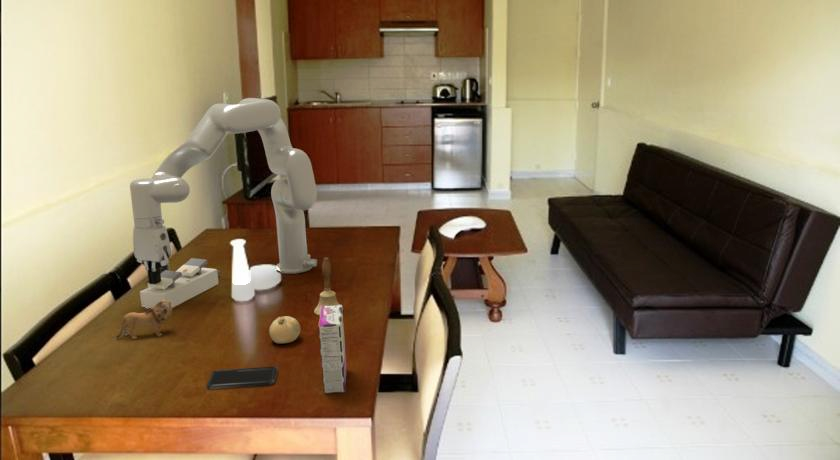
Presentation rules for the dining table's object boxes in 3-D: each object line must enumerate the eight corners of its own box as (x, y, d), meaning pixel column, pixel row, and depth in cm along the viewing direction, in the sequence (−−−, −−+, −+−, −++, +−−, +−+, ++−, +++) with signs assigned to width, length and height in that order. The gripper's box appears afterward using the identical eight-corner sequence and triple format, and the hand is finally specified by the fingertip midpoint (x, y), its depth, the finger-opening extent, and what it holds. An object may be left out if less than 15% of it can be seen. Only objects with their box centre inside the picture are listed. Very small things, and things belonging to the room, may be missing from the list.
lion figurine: (174, 326, 180) (170, 295, 177) (175, 333, 175) (171, 302, 173) (116, 336, 174) (111, 304, 172) (115, 344, 170) (110, 311, 167)
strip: (230, 277, 217) (228, 261, 216) (166, 311, 190) (163, 292, 189) (208, 275, 221) (206, 258, 219) (142, 307, 194) (139, 289, 192)
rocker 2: (208, 264, 209) (206, 259, 208) (192, 278, 202) (190, 272, 201) (193, 262, 211) (191, 257, 210) (177, 276, 204) (175, 270, 204)
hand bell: (326, 303, 193) (322, 252, 189) (348, 308, 189) (345, 256, 185) (308, 313, 186) (304, 260, 182) (331, 318, 182) (327, 264, 178)
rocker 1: (182, 277, 198) (180, 271, 197) (164, 290, 192) (163, 285, 191) (166, 275, 200) (165, 269, 199) (148, 288, 194) (147, 283, 193)
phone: (273, 382, 146) (205, 386, 145) (274, 386, 147) (206, 391, 146) (278, 366, 154) (213, 369, 153) (278, 370, 154) (213, 374, 153)
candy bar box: (325, 370, 153) (320, 305, 148) (347, 369, 153) (343, 303, 149) (322, 394, 142) (317, 325, 138) (345, 393, 142) (341, 323, 138)
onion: (267, 337, 172) (265, 312, 170) (297, 332, 174) (295, 307, 172) (273, 349, 164) (270, 323, 162) (304, 343, 167) (302, 318, 165)
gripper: (178, 221, 188) (184, 281, 193) (137, 217, 193) (144, 276, 198) (159, 227, 181) (166, 289, 186) (118, 222, 187) (125, 283, 191)
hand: (155, 282), depth 192 cm, fingers closed
